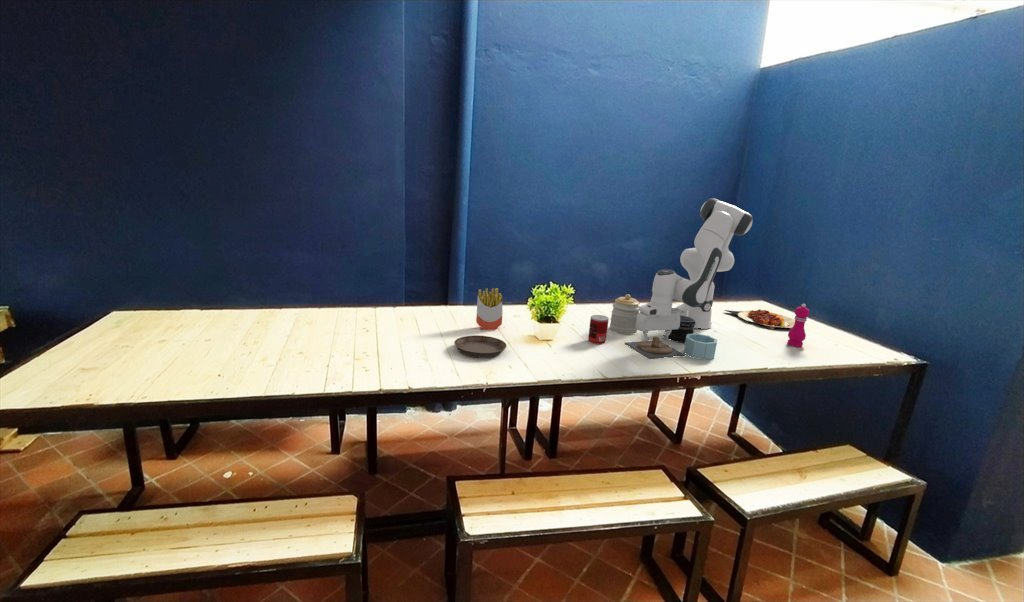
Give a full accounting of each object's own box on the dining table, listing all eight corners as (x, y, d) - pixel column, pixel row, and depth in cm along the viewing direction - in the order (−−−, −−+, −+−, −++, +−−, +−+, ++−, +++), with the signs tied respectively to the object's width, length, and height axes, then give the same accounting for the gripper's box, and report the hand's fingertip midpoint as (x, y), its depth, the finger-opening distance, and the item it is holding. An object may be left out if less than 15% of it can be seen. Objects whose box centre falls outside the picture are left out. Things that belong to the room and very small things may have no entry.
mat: (624, 343, 226) (624, 342, 226) (659, 341, 233) (659, 340, 232) (648, 358, 210) (649, 357, 210) (685, 356, 216) (685, 354, 216)
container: (678, 333, 247) (682, 313, 244) (698, 342, 236) (702, 321, 233) (658, 335, 241) (661, 314, 239) (677, 344, 230) (681, 323, 228)
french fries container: (501, 329, 233) (504, 290, 228) (478, 330, 230) (480, 290, 225) (499, 326, 237) (501, 288, 232) (475, 326, 234) (478, 288, 229)
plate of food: (720, 310, 294) (723, 298, 292) (782, 317, 293) (785, 305, 291) (741, 328, 264) (745, 315, 262) (810, 336, 263) (814, 323, 261)
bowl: (678, 349, 223) (680, 334, 222) (700, 348, 228) (703, 333, 226) (696, 360, 212) (699, 344, 211) (720, 358, 217) (723, 342, 215)
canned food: (607, 340, 229) (610, 316, 226) (603, 345, 222) (606, 321, 219) (591, 337, 232) (593, 313, 229) (585, 342, 225) (588, 317, 222)
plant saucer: (471, 338, 219) (472, 331, 218) (515, 349, 210) (515, 341, 210) (443, 352, 202) (443, 344, 201) (489, 365, 193) (490, 356, 192)
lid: (631, 343, 225) (633, 333, 224) (658, 342, 230) (660, 331, 229) (650, 355, 212) (652, 344, 211) (678, 353, 217) (680, 342, 216)
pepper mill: (805, 348, 238) (815, 306, 233) (788, 346, 239) (798, 304, 234) (800, 343, 245) (809, 302, 240) (784, 341, 246) (793, 300, 241)
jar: (628, 325, 253) (633, 290, 248) (642, 334, 241) (647, 297, 237) (604, 326, 249) (608, 290, 244) (618, 335, 237) (622, 298, 232)
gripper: (676, 305, 223) (671, 335, 227) (635, 307, 216) (631, 338, 219) (685, 309, 217) (680, 340, 221) (644, 311, 210) (639, 343, 214)
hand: (655, 339), depth 220 cm, fingers open, 8 cm apart
